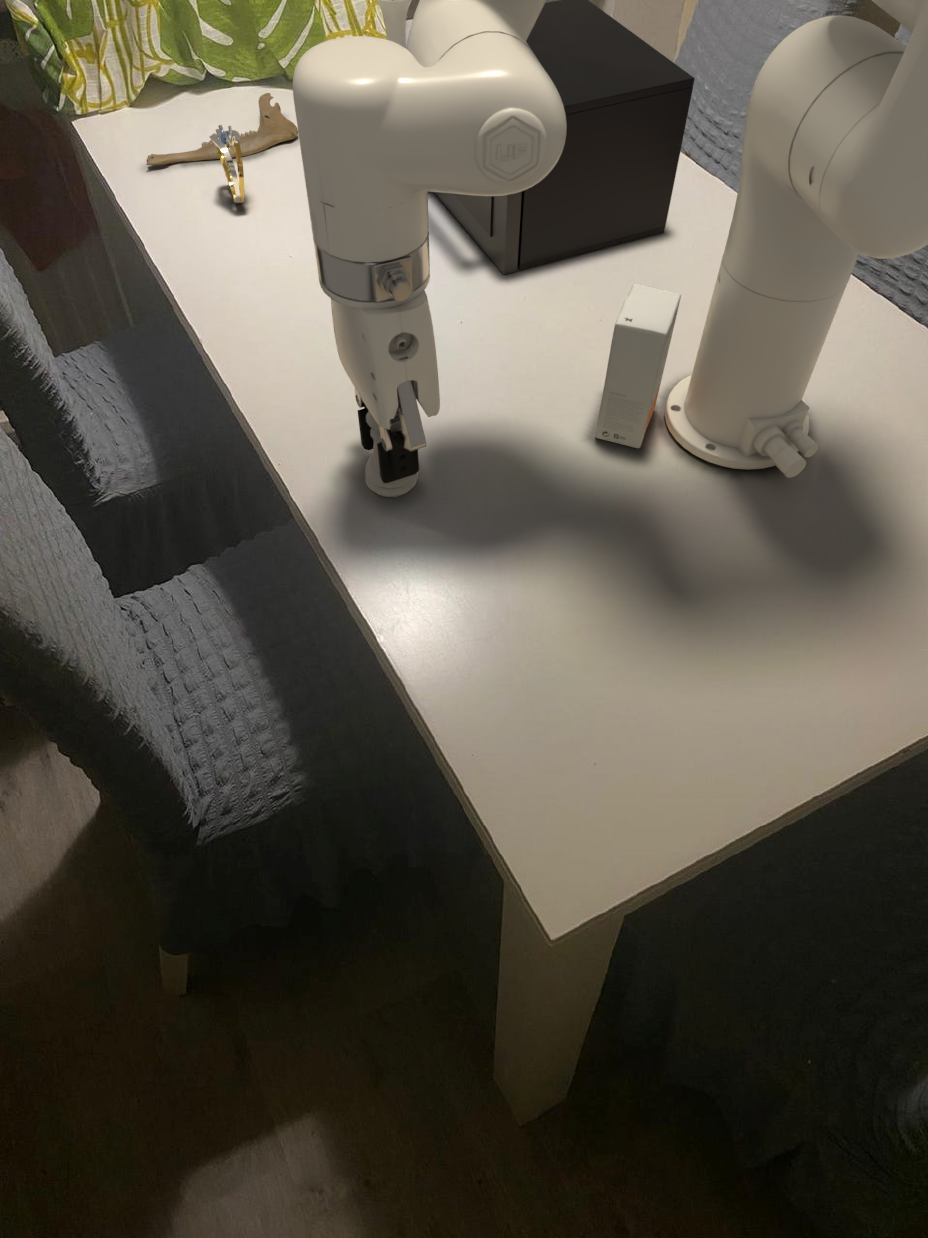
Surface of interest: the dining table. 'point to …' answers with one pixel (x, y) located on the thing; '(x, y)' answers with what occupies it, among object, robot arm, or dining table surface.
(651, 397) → the cosmetic box
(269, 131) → the jawbone
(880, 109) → the robot arm
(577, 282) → the dining table surface
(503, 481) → the dining table surface
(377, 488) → the rook chess piece
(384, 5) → the flower in vase
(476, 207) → the oven door
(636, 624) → the dining table surface
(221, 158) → the ring
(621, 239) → the oven
